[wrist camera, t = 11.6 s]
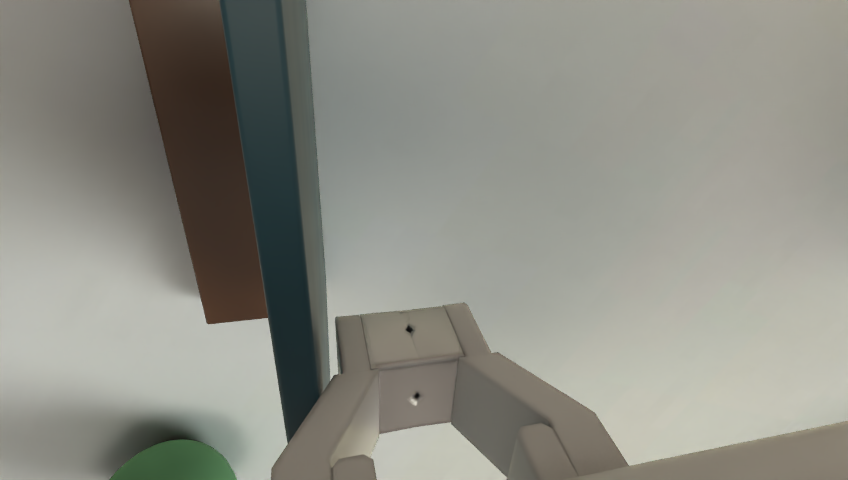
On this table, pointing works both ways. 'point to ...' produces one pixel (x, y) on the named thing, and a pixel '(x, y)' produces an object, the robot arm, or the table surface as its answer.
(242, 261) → the walnut foot
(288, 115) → the sign board
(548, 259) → the table surface
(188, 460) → the alien toy
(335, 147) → the table surface
